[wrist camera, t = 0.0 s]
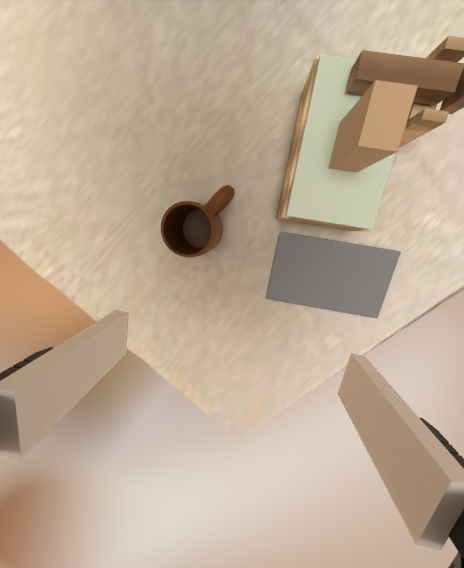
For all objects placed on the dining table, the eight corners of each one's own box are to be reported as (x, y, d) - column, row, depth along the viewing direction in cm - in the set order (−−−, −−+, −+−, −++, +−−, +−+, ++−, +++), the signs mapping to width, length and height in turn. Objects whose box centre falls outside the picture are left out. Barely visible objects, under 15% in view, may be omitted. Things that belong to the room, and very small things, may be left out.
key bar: (352, 63, 25) (365, 42, 22) (464, 78, 25) (492, 58, 22) (343, 98, 26) (355, 82, 23) (451, 114, 25) (477, 99, 23)
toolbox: (303, 84, 33) (327, 20, 23) (404, 98, 32) (474, 39, 22) (276, 218, 38) (285, 215, 28) (363, 232, 37) (405, 235, 27)
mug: (220, 176, 37) (210, 160, 28) (251, 212, 38) (251, 207, 29) (171, 228, 40) (147, 228, 31) (201, 260, 41) (187, 269, 31)
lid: (315, 67, 27) (351, -23, 18) (409, 79, 27) (500, -6, 17) (284, 216, 32) (299, 211, 22) (363, 229, 31) (415, 230, 22)
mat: (279, 231, 38) (280, 231, 38) (399, 251, 37) (400, 251, 37) (266, 298, 41) (266, 298, 41) (376, 317, 40) (377, 318, 40)
